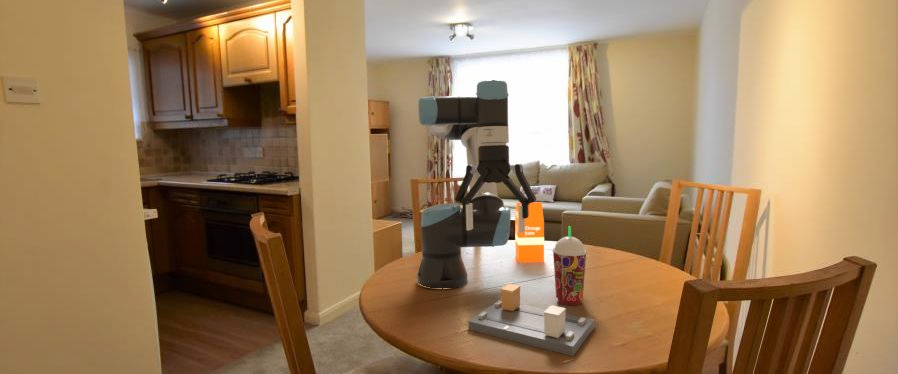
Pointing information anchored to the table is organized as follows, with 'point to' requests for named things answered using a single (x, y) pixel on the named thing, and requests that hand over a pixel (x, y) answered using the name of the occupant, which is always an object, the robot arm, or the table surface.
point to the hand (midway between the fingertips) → (495, 230)
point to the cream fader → (554, 321)
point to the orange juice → (530, 235)
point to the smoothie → (569, 269)
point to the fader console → (532, 327)
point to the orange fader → (510, 297)
